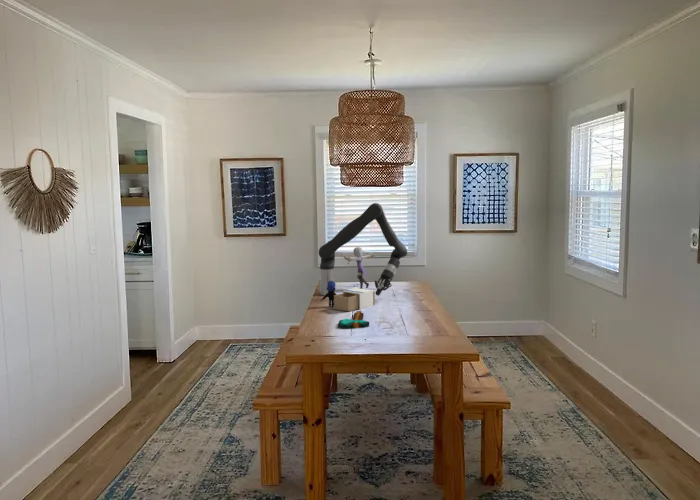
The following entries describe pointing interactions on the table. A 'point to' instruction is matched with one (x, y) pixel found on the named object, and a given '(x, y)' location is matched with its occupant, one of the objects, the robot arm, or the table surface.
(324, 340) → the table surface
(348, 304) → the wooden drawer
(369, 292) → the sleeve
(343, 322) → the toy
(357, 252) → the figurine
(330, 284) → the toy
